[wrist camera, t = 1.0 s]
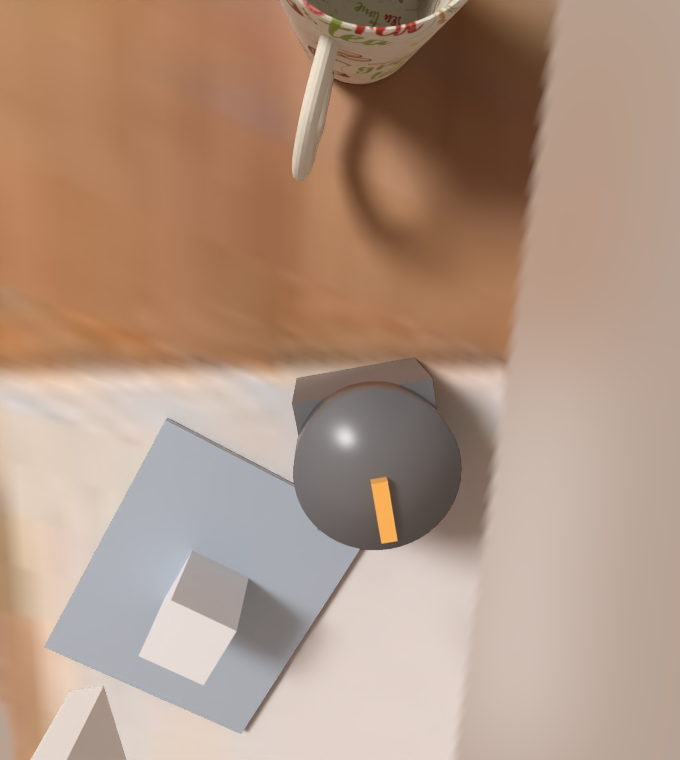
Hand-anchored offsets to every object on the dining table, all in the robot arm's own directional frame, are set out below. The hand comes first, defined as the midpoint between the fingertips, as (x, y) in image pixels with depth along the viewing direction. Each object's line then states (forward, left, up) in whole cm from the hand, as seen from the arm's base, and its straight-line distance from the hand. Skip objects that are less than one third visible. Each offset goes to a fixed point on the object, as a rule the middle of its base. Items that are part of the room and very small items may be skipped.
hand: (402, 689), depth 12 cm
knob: (-1, 0, -19) cm, 19 cm away
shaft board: (+12, -3, -19) cm, 23 cm away
